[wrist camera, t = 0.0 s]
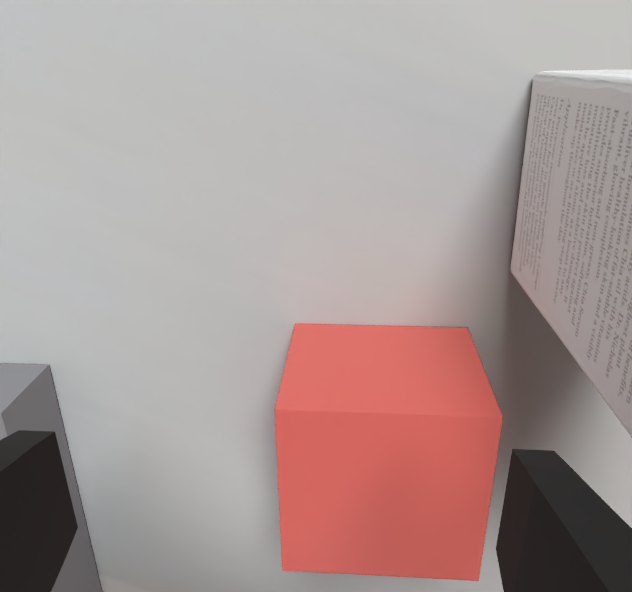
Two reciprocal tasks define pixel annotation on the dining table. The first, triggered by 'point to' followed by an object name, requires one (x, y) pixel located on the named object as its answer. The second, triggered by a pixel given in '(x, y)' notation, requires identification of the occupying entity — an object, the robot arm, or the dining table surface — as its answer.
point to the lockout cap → (385, 451)
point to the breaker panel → (44, 415)
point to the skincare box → (581, 222)
